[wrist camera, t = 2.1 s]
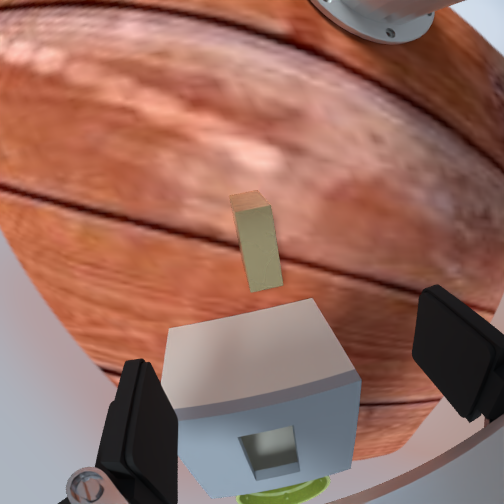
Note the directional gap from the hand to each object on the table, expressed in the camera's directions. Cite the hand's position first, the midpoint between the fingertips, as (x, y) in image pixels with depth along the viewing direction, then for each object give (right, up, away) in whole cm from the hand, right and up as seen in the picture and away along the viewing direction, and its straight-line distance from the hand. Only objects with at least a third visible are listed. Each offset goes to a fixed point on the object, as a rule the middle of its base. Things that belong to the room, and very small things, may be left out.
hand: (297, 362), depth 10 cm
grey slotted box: (-1, -7, +18) cm, 19 cm away
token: (-2, +5, +13) cm, 14 cm away
